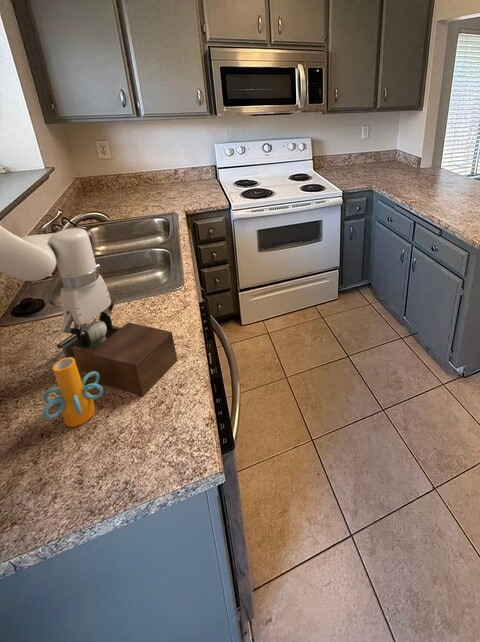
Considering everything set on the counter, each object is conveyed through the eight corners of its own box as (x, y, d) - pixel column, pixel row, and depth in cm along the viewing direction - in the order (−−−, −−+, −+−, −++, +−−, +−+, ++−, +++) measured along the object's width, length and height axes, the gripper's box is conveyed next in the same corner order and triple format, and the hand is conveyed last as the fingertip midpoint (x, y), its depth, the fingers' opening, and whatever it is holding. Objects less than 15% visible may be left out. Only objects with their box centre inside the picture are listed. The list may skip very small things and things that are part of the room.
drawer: (53, 366, 96) (45, 342, 93) (91, 339, 106) (84, 316, 103) (109, 382, 90) (102, 357, 88) (143, 351, 101) (138, 328, 98)
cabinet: (97, 383, 91) (88, 353, 88) (135, 350, 102) (128, 322, 99) (143, 396, 87) (135, 365, 84) (177, 360, 98) (172, 331, 95)
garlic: (95, 330, 98) (91, 314, 96) (114, 331, 97) (110, 315, 96) (79, 345, 92) (74, 328, 91) (98, 346, 92) (94, 330, 90)
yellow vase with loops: (117, 393, 88) (104, 343, 83) (100, 431, 78) (83, 378, 73) (63, 401, 86) (46, 350, 81) (38, 441, 76) (17, 386, 71)
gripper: (98, 259, 98) (112, 315, 104) (34, 293, 82) (55, 356, 88) (120, 263, 96) (133, 319, 102) (58, 298, 80) (78, 362, 86)
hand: (96, 336), depth 95 cm, fingers closed on garlic, 6 cm apart
